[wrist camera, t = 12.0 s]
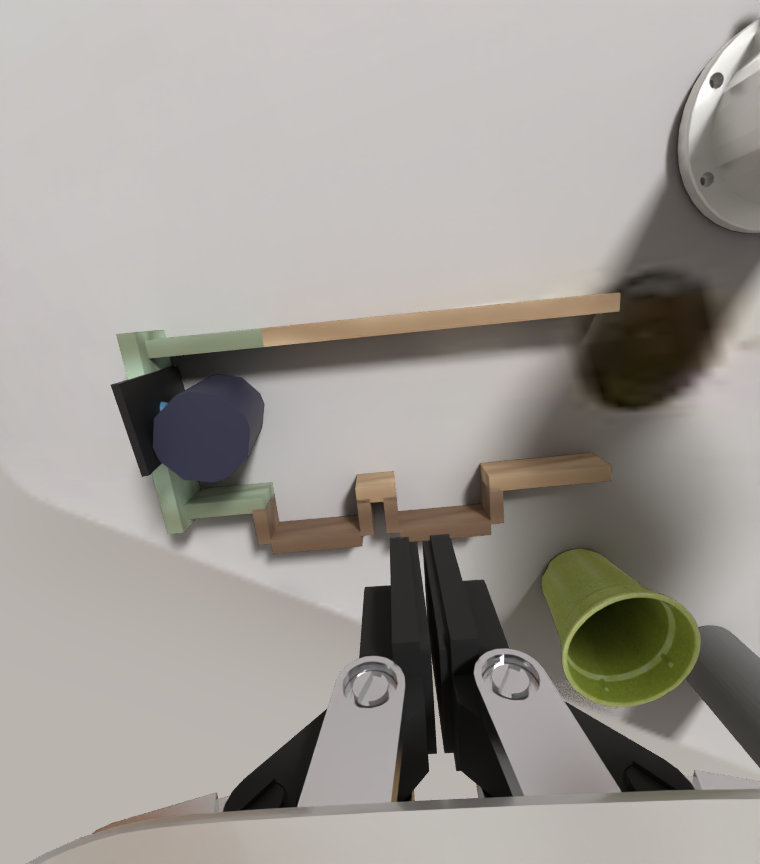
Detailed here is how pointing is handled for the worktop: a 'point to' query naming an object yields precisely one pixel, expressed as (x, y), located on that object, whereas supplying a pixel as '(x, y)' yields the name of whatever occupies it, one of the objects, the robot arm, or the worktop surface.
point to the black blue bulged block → (190, 423)
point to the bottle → (730, 685)
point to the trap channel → (191, 502)
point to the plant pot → (617, 631)
